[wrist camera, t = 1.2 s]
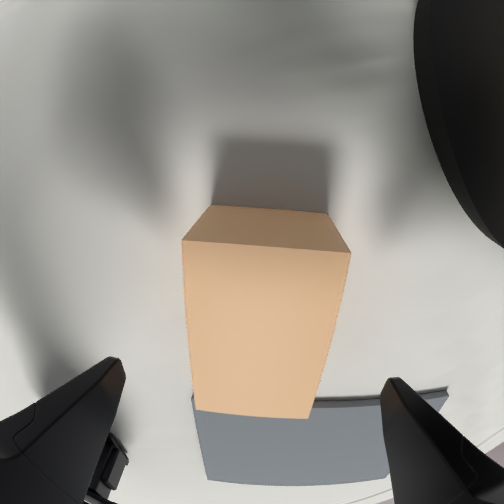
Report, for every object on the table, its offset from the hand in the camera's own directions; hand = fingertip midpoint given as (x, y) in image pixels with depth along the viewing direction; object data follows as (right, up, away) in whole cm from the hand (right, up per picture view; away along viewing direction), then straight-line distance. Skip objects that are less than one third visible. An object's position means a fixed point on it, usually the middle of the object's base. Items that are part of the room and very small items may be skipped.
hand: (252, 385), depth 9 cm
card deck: (+1, +2, +5) cm, 6 cm away
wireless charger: (+16, +13, 0) cm, 20 cm away
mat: (+5, -12, +11) cm, 17 cm away
